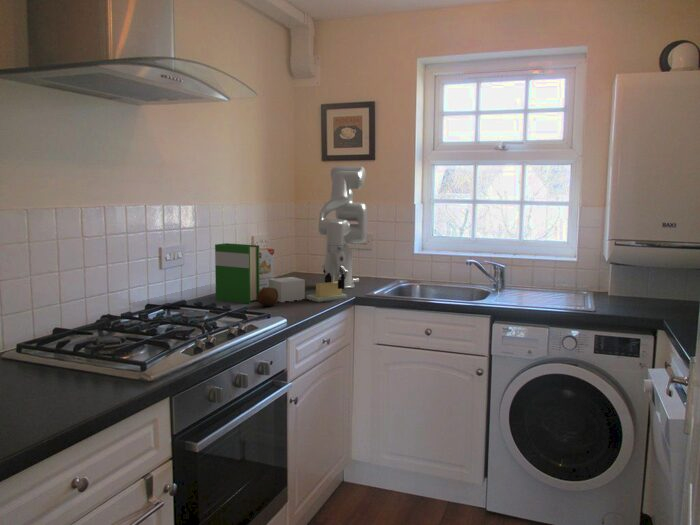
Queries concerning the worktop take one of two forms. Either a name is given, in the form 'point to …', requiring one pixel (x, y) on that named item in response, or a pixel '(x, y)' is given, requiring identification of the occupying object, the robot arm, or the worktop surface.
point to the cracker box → (265, 267)
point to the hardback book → (237, 272)
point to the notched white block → (288, 288)
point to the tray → (326, 298)
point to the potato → (268, 296)
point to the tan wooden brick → (327, 289)
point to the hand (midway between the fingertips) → (334, 286)
